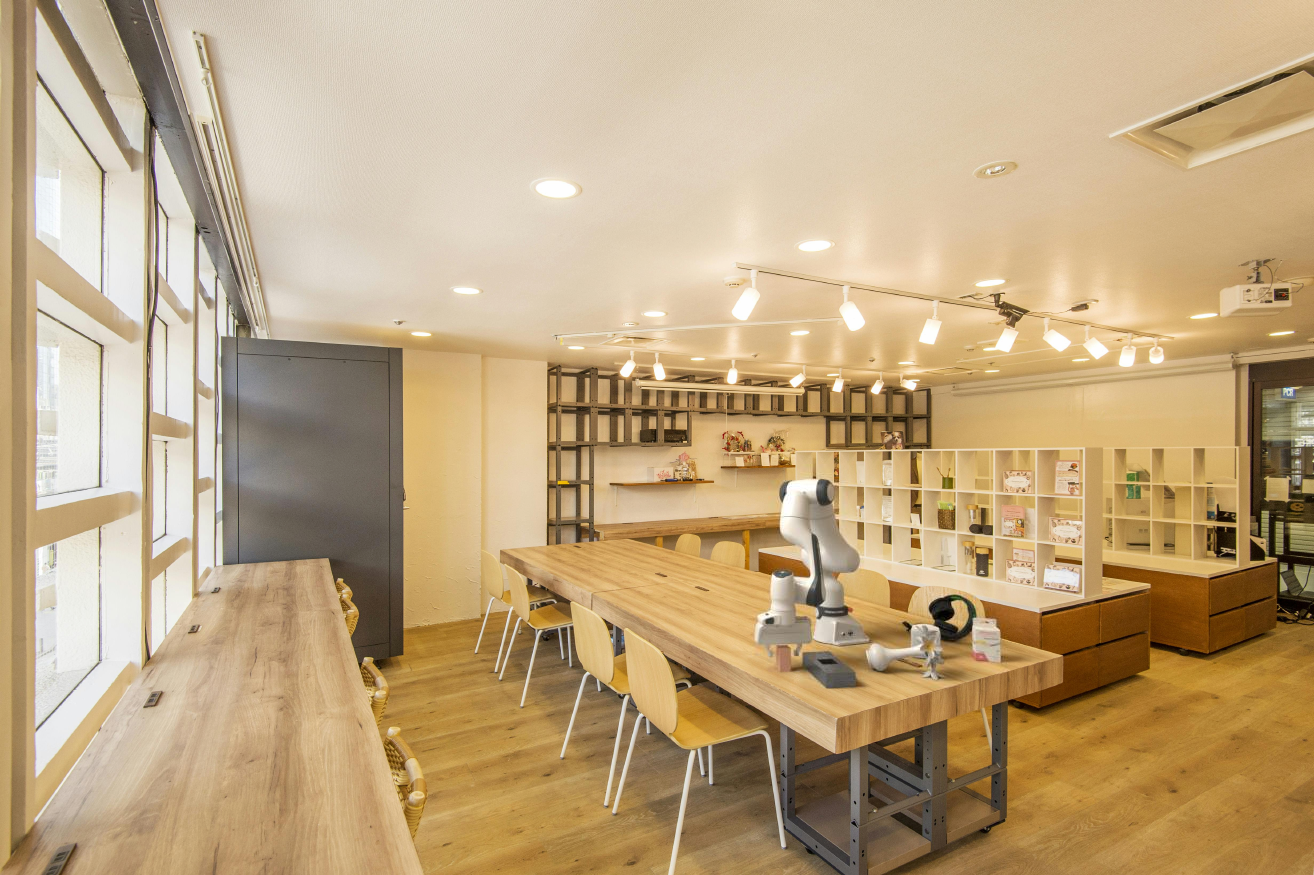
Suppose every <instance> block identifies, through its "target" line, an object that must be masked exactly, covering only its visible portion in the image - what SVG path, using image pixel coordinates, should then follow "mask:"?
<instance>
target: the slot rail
mask: <svg viewBox="0 0 1314 875" xmlns="http://www.w3.org/2000/svg"><path fill="white" fill-rule="evenodd" d="M801 653H802V654H801V656H802V657H801V658H802V659H801V660H802V661H801V662H802V664H801V665H802V667H803V668H804V669H805V670H806V671H807V672H808V673H810V674H811V676H813V677H814V679H816V680H817V681H818V682H819V683H820V684H821V685H822V686H823V687H824V688H825V689H836V688H837V689H839V688H841V689H842V688H856V686H857V685H856V679H857V678H856V671H855V670H854V669H852V668H851V667H850V666H848V665H847V664H846V663H845V662H844V661H842V660H841V659H840V658H838V657H837V656H835V654H833V653H832V652H831V651H829V650H826V651H805V652H804V651H801Z"/></svg>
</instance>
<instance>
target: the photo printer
mask: <svg viewBox="0 0 1314 875" xmlns="http://www.w3.org/2000/svg"><path fill="white" fill-rule="evenodd" d="M911 625H912V624H911ZM922 625H925V626H926V627H927V628H928V632H929V631H930V630H936V631H938V632H936V633H935V634H937V635H932V637H933V636H937V638H938V639H939V640H938V641H937V642H936V643H935V644H934V645H938V646H940V647H941V648H942V646H941V640H942V639H940V631H939V628H938V627H936V626H934V624H933V625H932V624H927V623H923V624H916V625H914V624H913V625H912V629H910V633H911V634H910V647H914V646H917V645H920V644H921V643H919V642H917V641H916V637H921V638H922V636H923V633H922V632H921V631H920V630H919V629H918V628H917V627H916V626H918V627H920V628H922ZM930 638H931V635H930V636H929V639H930ZM927 652H928V651H927ZM936 652H937V651H936ZM911 658H917V659H925V660H926V659H927V658H928V657H927V656H926V657H923V656H912V657H911ZM939 658H941V659H942V655H941V656H939Z"/></svg>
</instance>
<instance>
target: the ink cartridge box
mask: <svg viewBox="0 0 1314 875" xmlns="http://www.w3.org/2000/svg"><path fill="white" fill-rule="evenodd" d="M971 634H972V636H971V637H972V641H971V642H972V646H971V647H972V657H973V658H974V660H975V661H978V662H990V663H1001V662H1002V660H1001V659H1002V658H1001V655H1002V654H1001V652H1002V651H1001V647H1002V646H1001V645H1002V644H1001V630H1000V629H999V628H998V627H997V619H996V618H985V617H984V618H982V617H977V618H973V626H972V631H971Z"/></svg>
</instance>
